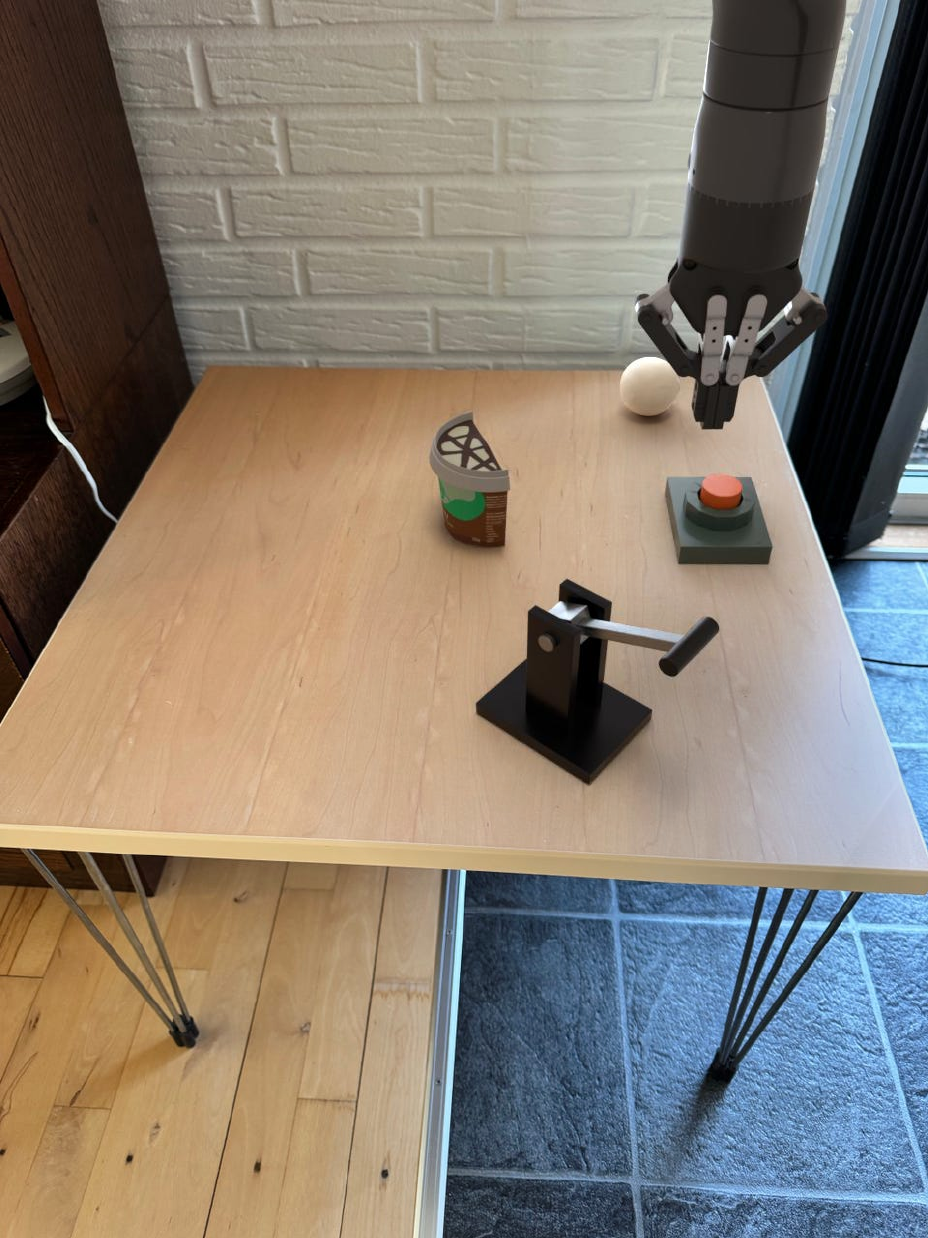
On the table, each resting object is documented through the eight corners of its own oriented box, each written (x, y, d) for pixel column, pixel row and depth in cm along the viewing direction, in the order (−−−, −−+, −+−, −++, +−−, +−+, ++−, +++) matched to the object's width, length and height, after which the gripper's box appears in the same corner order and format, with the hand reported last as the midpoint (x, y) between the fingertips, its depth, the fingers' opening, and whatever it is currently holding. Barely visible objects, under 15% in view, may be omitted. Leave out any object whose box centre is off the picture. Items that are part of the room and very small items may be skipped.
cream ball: (688, 416, 117) (696, 366, 112) (636, 430, 115) (642, 380, 110) (658, 390, 121) (664, 341, 117) (608, 404, 119) (612, 354, 115)
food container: (419, 498, 106) (414, 419, 99) (472, 487, 107) (470, 408, 101) (452, 566, 98) (448, 485, 91) (509, 553, 99) (510, 472, 92)
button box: (768, 564, 97) (776, 532, 94) (678, 563, 97) (683, 532, 94) (748, 493, 105) (754, 462, 102) (664, 493, 106) (669, 462, 103)
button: (742, 510, 97) (745, 496, 96) (702, 510, 97) (705, 496, 96) (736, 487, 100) (739, 473, 99) (697, 487, 100) (699, 473, 99)
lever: (722, 640, 69) (716, 612, 68) (681, 684, 66) (674, 655, 65) (579, 615, 78) (572, 590, 77) (537, 652, 75) (529, 626, 74)
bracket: (651, 719, 82) (669, 609, 73) (588, 785, 77) (599, 675, 69) (540, 655, 88) (544, 546, 79) (475, 712, 83) (472, 603, 75)
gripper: (646, 199, 56) (622, 452, 68) (879, 196, 55) (814, 452, 67) (636, 156, 61) (615, 397, 73) (848, 152, 61) (792, 396, 73)
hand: (710, 423), depth 70 cm, fingers closed
